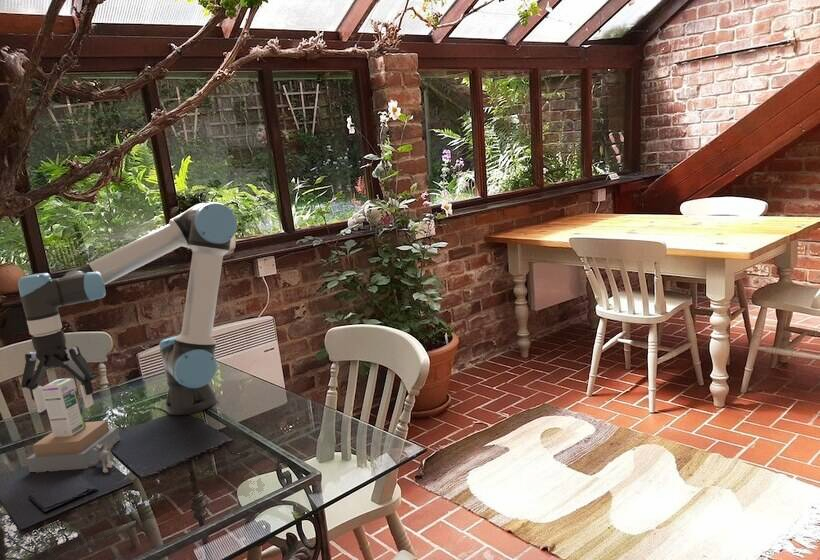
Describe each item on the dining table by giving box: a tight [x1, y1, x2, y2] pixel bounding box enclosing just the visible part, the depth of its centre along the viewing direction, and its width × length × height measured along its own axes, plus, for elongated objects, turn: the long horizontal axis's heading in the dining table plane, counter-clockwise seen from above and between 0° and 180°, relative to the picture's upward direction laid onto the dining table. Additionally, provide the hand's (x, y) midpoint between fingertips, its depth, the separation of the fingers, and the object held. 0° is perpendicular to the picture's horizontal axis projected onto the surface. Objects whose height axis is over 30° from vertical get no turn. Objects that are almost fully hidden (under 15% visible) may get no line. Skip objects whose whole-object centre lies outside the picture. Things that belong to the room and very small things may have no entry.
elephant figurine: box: [90, 438, 119, 474], centre depth 161 cm, size 10×6×9 cm
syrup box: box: [41, 377, 86, 437], centre depth 168 cm, size 6×6×14 cm
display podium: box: [26, 420, 121, 473], centre depth 170 cm, size 16×16×7 cm
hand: (66, 408), depth 168 cm, fingers open, 13 cm apart
